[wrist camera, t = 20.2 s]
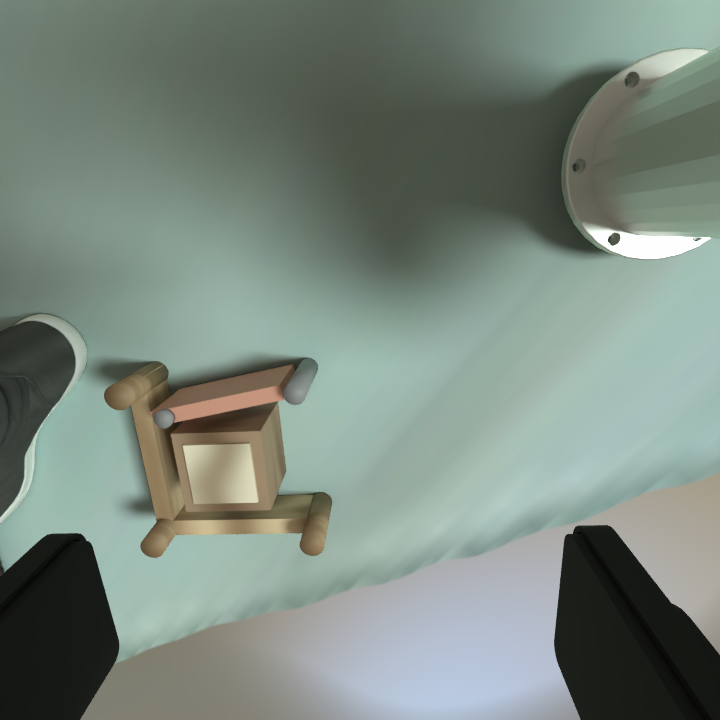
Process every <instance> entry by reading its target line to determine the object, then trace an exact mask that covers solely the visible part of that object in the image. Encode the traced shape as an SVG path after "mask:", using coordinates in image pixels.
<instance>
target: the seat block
mask: <svg viewBox="0 0 720 720" xmlns="http://www.w3.org/2000/svg"><path fill="white" fill-rule="evenodd" d="M171 438H172V443H173V448H174V453H175V458H176V463H177V468H178V473H179V478H180V483H181V488H182V493H183V498H184V503H185V508H186V512H208V511H258V510H271V509H272V506H273V504H274V501H275V499H276V496H277V493H278V491H279V488H280V486H281V483H282V481H283V478H284V475H285V473H286V465H285V456H284V448H283V440H282V431H281V423H280V414H279V406H278V402H271V403H267V404H262V405H257V406H252V407H247V408H243V409H238V410H233V411H228V412H223V413H219V414H214V415H209V416H204V417H199V418H194V419H190V420H185V421H183V422H182V423H181V424H180V425H179V426H178V427H177V428H176V429H175V430H174V431H173V432H172V433H171Z"/></svg>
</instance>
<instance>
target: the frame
mask: <svg viewBox="0 0 720 720" xmlns="http://www.w3.org/2000/svg"><path fill="white" fill-rule="evenodd" d="M167 378H168V369H167V368H166V366H165V365H164V364H162V363H160V362H156V361H155V362H151V363H149V364H148V365H146V366H144V367H142V368H141V369H139V370H137V371H135V372H134V373H132V374H130V375H128V376H127V377H125V378H123V379H122V380H120V381H118V382H117V383H115V384H113V385H111V386H110V387H108V388H107V389H106V390H105V393H104V398H105V401H106V403H107V404H108V405H109V406H110V407H111V408H113V409H115V410H124V409H126V408H128V407H129V406H130V405H131V408H132V413H133V417H134V422H135V426H136V431H137V435H138V440H139V444H140V448H141V453H142V457H143V462H144V466H145V471H146V475H147V480H148V484H149V489H150V493H151V497H152V502H153V506H154V511H155V515H156V520H157V522H156V524H155V525H154V526H153V528H152V529H151V530H150V532H149V533H148V534H147V536H146V537H145V538H144V539H143V541H142V542H141V550H142V552H143V553H144V554H145V555H147V556H149V557H153V558H156V557H159V556H161V555H162V554H163V553H164V551H165V550H166V548H167V547H168V545H169V544H170V542H171V541H172V539H173V538H174V536H175V535H203V534H270V533H302V537H301V541H300V548H301V550H302V551H303V552H304V553H305V554H307V555H310V556H316V555H319V554H320V553H321V552H322V551H323V549H324V545H325V539H326V533H327V528H328V522H329V517H330V511H331V505H332V499H331V497H330V496H329V495H328V494H326V493H323V492H319V493H316V494H314V495H277V496H276V499H275V501H274V504H273V506H272V509H271V510H258V511H208V512H186V508H185V503H184V498H183V493H182V488H181V483H180V478H179V473H178V468H177V463H176V458H175V453H174V448H173V443H172V438H171V433H172V432H173V431H174V430H175V429H176V423H173V424H172V425H171V426H170V427H168V428H165V429H163V428H160V427H158V426H156V425H155V423H154V420H153V418H152V415H151V413H150V412H152V411H153V410H154V409H155V408H157V407H158V406H159V405H160V404H162V403H163V402H164V401H165V400H167V399H168V398H169V397H170V392H169V387H168V382H167Z"/></svg>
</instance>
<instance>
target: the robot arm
mask: <svg viewBox="0 0 720 720" xmlns="http://www.w3.org/2000/svg"><path fill="white" fill-rule="evenodd" d="M625 80H626V81H627V82H628V85H627V86H626V85H625ZM573 164H575V165H576V166H577V169H576V171H575V172H574V171H573V168H572V166H573ZM561 181H562V193H563V197H564V201H565V205H566V209H567V211H568V213H569V215H570V217H571V219H572V221H573V223H574V225H575V226H576V227H577V228H578V230H579V231H580V232H581V233H582V235H583V236H584V237H585V238H586V239H587V240H589V241H590V242H591V243H592V244H594V245H595V246H596V247H598V248H600V249H602V250H604V251H606V252H608V253H610V254H612V255H616V256H620V257H624V258H629V259H639V260H653V259H663V258H668V257H672V256H676V255H680V254H682V253H685V252H687V251H689V250H692V249H694V248H697V247H698V246H700V245H702V244H703V243H705V242H706V241H708V240H710V239H711V238H720V46H719V47H717V48H715V49H713V50H712V51H709V50H706V49H702V48H678V49H672V50H667V51H661V52H658V53H656V54H653V55H651V56H648V57H645V58H643V59H640V60H639V61H637V62H635V63H634V64H632V65H630V66H629V67H627V68H625V69H624V70H622V71H621V72H619V73H618V74H617V75H615V76H614V77H613V78H611V79H610V80H609V81H607V82H606V83H605V84H604V85H603V86H602V87H601V88H600V89H599V90H598V91H597V92H596V93H595V94H594V95H593V96H592V97H591V98H590V100H589V101H588V103H587V104H586V106H585V107H584V108H583V110H582V111H581V113H580V114H579V116H578V118H577V120H576V122H575V124H574V126H573V128H572V130H571V132H570V134H569V137H568V140H567V144H566V147H565V150H564V154H563V161H562V170H561ZM609 236H610V237H611V240H610V241H609V242H608V240H607V239H608V237H609ZM561 569H562V570H561V578H560V589H559V598H558V608H557V618H556V629H555V639H554V646H555V654H556V658H557V662H558V665H559V667H560V670H561V672H562V675H563V677H564V679H565V682H566V684H567V687H568V689H569V692H570V694H571V697H572V699H573V702H574V704H575V707H576V709H577V711H578V714H579V716H580V719H581V720H720V655H719V654H718V652H717V651H716V650H715V649H714V647H713V646H712V645H711V644H710V642H709V641H708V640H707V638H706V637H705V636H704V635H703V633H702V632H701V631H700V630H699V628H698V627H697V626H696V625H695V623H694V622H693V621H692V620H691V618H690V617H689V616H688V615H687V614H686V613H685V612H684V611H683V610H682V609H681V608H679V607H678V606H676V605H674V604H672V603H671V602H670V601H669V600H668V598H667V597H666V596H665V594H663V592H662V591H661V589H660V588H659V587H658V585H657V584H656V583H655V582H654V580H653V579H652V578H651V576H650V575H649V574H648V573H647V571H646V570H645V569H644V567H643V566H642V565H641V564H640V563H639V561H638V560H637V558H636V557H635V556H634V555H633V553H632V552H631V551H630V549H629V548H628V547H627V546H626V544H625V543H624V542H623V540H622V539H621V538H620V537H619V535H618V534H617V533H616V532H615V530H614V529H613V528H612V527H610V526H608V525H598V526H596V525H595V526H577V527H575V529H574V532H573V534H567V535H566V536H565V540H564V548H563V558H562V568H561ZM118 652H119V639H118V636H117V632H116V629H115V625H114V621H113V618H112V614H111V611H110V607H109V604H108V600H107V597H106V593H105V589H104V586H103V582H102V579H101V575H100V572H99V568H98V564H97V561H96V557H95V554H94V550H93V547H92V545H91V543H90V542H89V541H86V539H85V537H84V536H83V535H82V534H78V533H68V534H49V535H46V536H45V537H43V538H42V539H41V540H40V541H39V542H37V543H36V544H35V545H34V546H33V547H32V548H31V549H30V550H29V551H28V552H27V553H25V554H24V555H23V556H22V557H21V558H20V559H19V560H18V561H17V562H16V563H15V564H13V565H12V566H11V567H10V568H9V569H8V570H7V571H6V572H5V573H4V574H2V575H1V576H0V720H80V719H81V717H82V715H83V714H84V712H85V710H86V709H87V707H88V705H89V704H90V702H91V701H92V699H93V698H94V696H95V694H96V692H97V691H98V689H99V688H100V686H101V684H102V683H103V681H104V680H105V678H106V676H107V675H108V673H109V671H110V670H111V668H112V666H113V665H114V663H115V661H116V658H117V656H118Z"/></svg>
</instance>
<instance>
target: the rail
mask: <svg viewBox="0 0 720 720" xmlns="http://www.w3.org/2000/svg"><path fill="white" fill-rule="evenodd" d="M317 370H318V365H317V363H316V361H315V360H313V359H311V358H306V359H304V360H302V361H301V363H300V364H299V366H298V368H297V369H296V371H295V368H294V365H293V364H291V365H286V366H282V367H277V368H273V369H268V370H263V371H259V372H254V373H250V374H245V375H240V376H236V377H231V378H227V379H222V380H217V381H213V382H208V383H203V384H199V385H194V386H190V387H185V388H180V389H179V390H178V391H177V392H175V393H174V394H173V395H172V396H170V397H169V398H168V399H167V400H165V401H164V402H163V403H162V404H160V405H159V406H158V407H157V408H155V409H154V410H153V411H152V412H150V413H151V415H152V418H153V420H154V423H155V425H156V426H158V427H160V428H163V429H165V428H168V427H170V426H171V425H172V424H173V423H175V422H180V421H185V420H190V419H194V418H199V417H204V416H209V415H214V414H219V413H223V412H228V411H233V410H238V409H243V408H247V407H252V406H257V405H262V404H267V403H271V402H276V401H281V400H284V399H285V400H286V401H287V402H288V403H290V404H293V405H298V404H301V403H302V402H303V401H304V400H305V398H306V395H307V393H308V391H309V389H310V386H311V384H312V382H313V380H314V377H315V375H316V373H317Z"/></svg>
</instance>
